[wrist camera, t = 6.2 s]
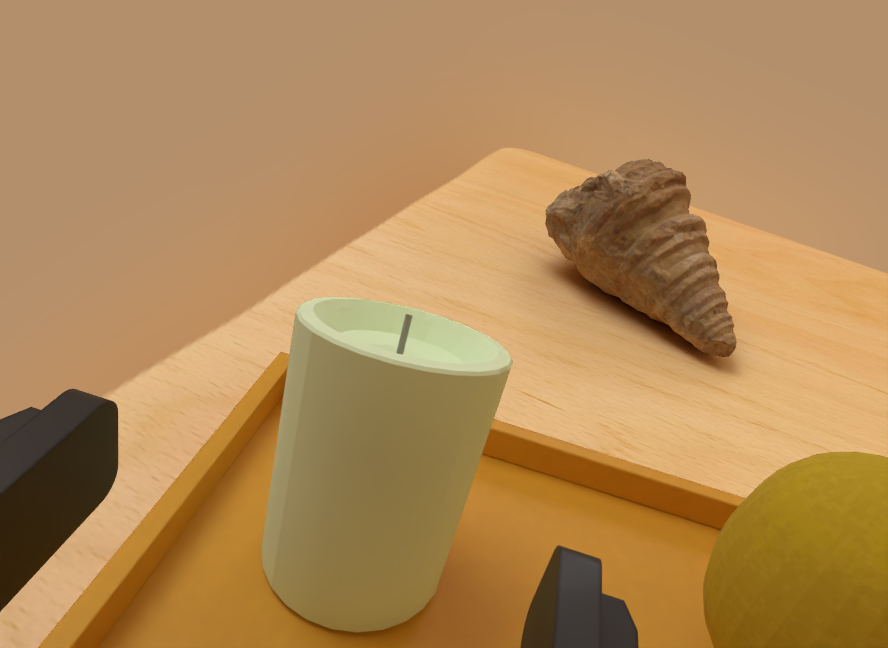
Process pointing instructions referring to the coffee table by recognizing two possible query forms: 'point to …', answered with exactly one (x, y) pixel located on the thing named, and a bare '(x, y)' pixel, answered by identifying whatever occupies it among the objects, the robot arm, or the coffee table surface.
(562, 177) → the coffee table surface
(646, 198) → the seashell
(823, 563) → the lemon
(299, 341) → the candle
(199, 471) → the yellow tray
